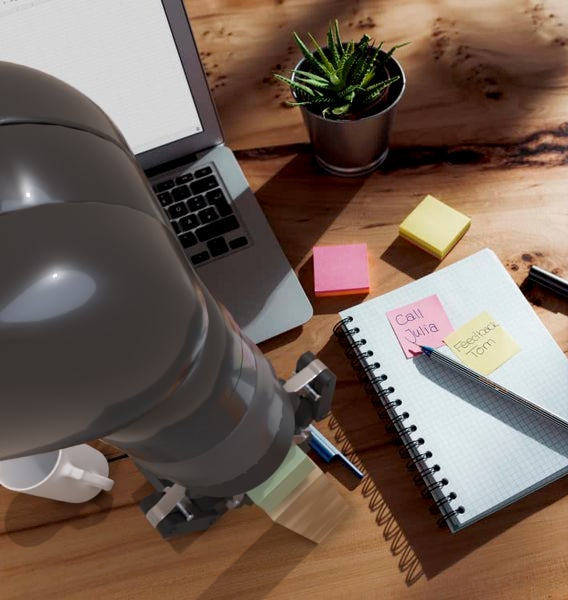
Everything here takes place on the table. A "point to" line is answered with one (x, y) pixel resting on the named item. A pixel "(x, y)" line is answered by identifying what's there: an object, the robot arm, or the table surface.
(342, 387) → the table surface
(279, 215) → the table surface
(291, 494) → the stand
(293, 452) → the block
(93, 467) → the mug
